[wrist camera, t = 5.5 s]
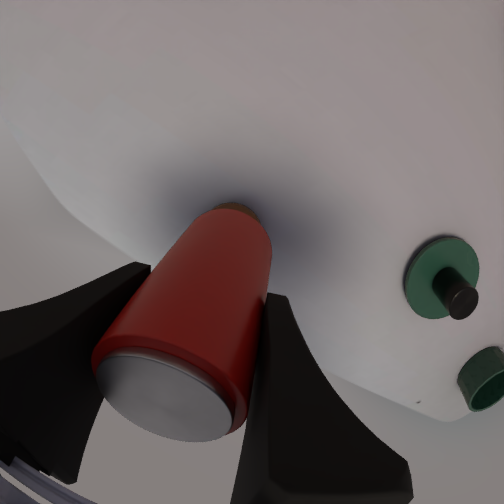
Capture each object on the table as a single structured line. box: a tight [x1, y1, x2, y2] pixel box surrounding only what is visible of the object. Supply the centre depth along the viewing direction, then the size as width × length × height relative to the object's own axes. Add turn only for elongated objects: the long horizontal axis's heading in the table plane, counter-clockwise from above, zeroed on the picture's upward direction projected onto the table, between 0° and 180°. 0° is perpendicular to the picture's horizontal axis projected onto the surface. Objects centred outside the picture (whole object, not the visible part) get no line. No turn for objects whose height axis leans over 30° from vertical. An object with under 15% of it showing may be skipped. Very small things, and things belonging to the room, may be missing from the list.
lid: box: [405, 237, 479, 320], centre depth 17 cm, size 6×6×4 cm
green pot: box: [458, 347, 504, 412], centre depth 20 cm, size 6×6×4 cm
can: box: [91, 209, 272, 442], centre depth 10 cm, size 4×4×8 cm
